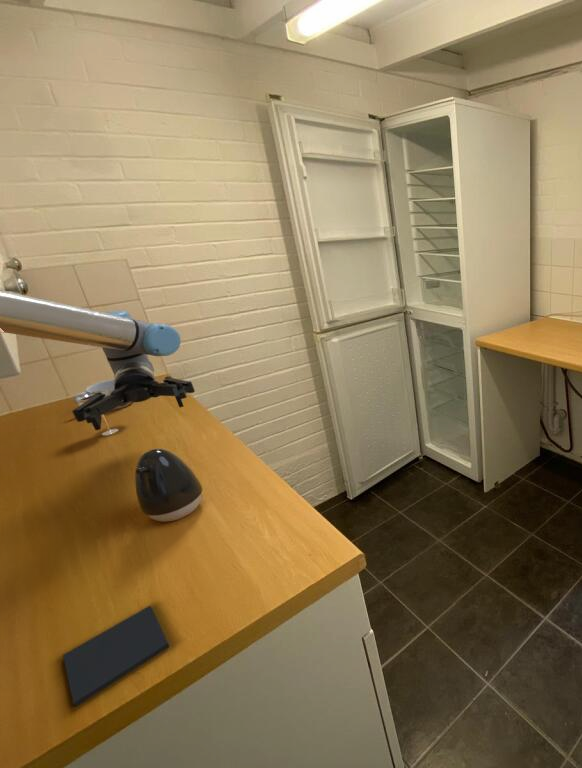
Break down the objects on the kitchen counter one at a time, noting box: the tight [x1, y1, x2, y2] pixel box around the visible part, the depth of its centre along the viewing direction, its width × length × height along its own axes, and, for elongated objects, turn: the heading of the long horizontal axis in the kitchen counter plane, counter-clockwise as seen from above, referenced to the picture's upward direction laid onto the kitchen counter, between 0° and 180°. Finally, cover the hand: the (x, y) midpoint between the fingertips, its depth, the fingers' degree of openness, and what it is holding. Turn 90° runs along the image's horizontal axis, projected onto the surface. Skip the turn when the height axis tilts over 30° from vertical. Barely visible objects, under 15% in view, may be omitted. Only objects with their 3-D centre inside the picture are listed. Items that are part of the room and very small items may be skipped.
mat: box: [62, 605, 170, 708], centre depth 60 cm, size 10×10×1 cm
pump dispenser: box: [134, 448, 204, 523], centre depth 84 cm, size 10×10×15 cm
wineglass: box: [76, 391, 119, 436], centre depth 118 cm, size 7×7×12 cm
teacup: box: [73, 378, 132, 411], centre depth 135 cm, size 14×11×8 cm
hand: (139, 412), depth 86 cm, fingers open, 13 cm apart
